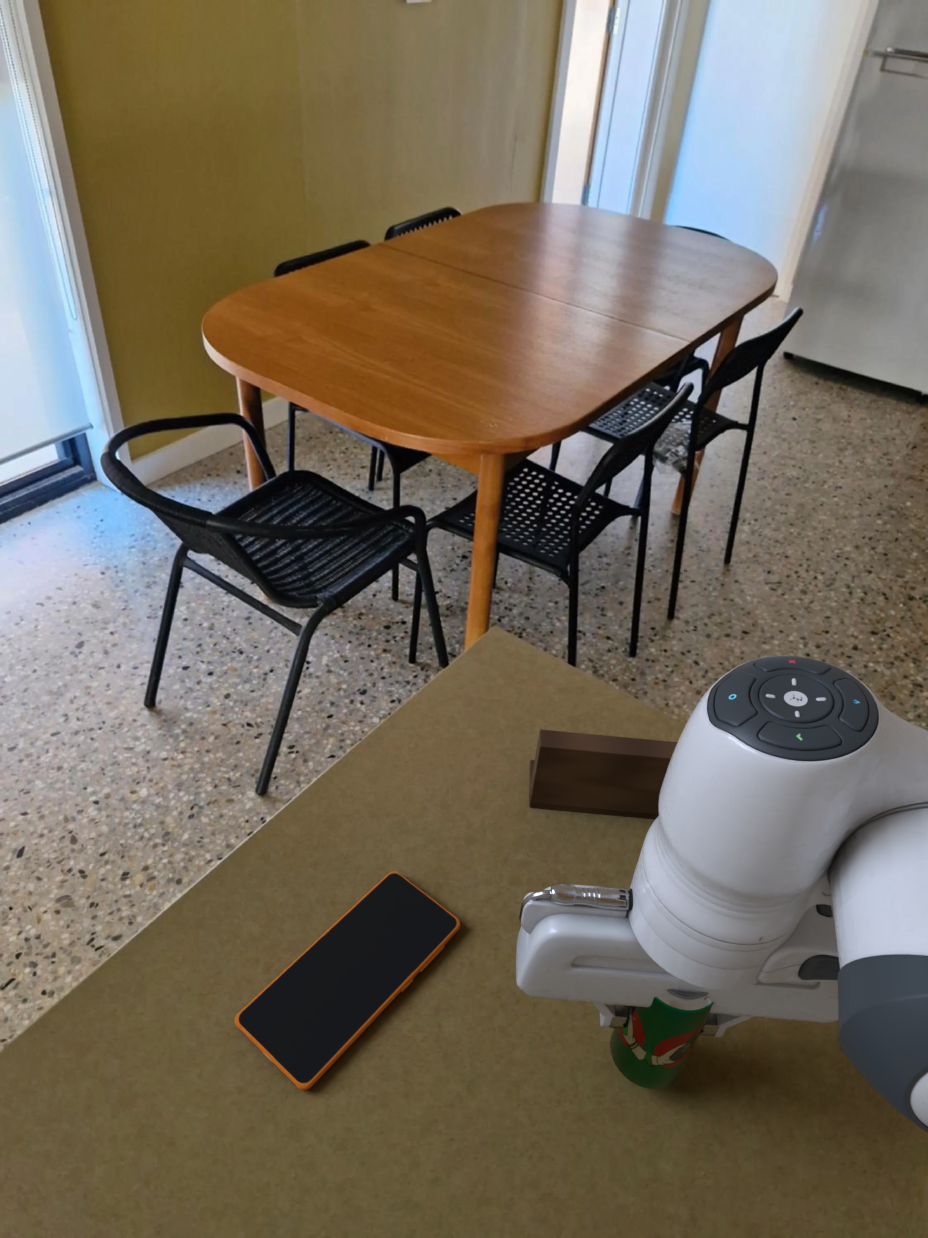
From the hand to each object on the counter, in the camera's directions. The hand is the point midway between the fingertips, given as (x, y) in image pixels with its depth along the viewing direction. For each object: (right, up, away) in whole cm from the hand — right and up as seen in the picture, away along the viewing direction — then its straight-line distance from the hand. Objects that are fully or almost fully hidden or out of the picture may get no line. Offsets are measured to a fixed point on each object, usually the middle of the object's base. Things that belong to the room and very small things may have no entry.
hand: (659, 1021), depth 58 cm
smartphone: (-21, 0, +8) cm, 22 cm away
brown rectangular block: (+1, +11, +23) cm, 25 cm away
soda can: (0, -4, +3) cm, 5 cm away
